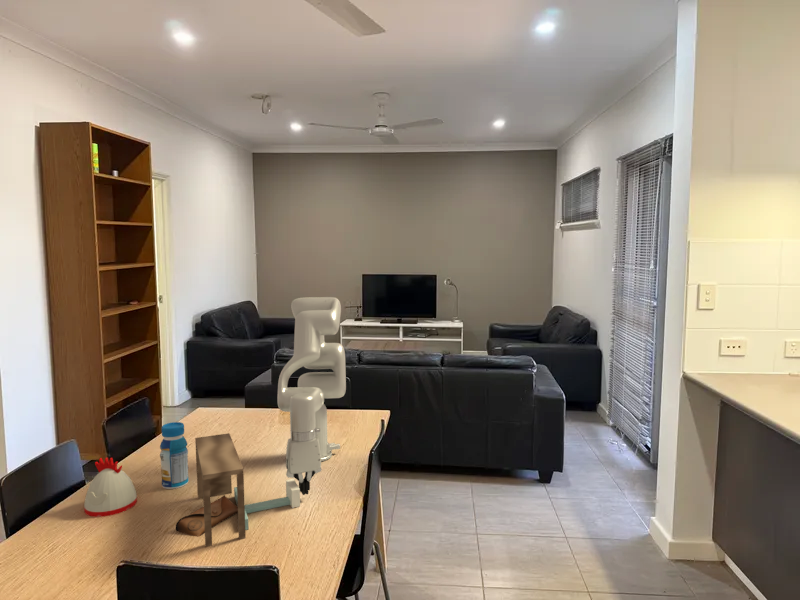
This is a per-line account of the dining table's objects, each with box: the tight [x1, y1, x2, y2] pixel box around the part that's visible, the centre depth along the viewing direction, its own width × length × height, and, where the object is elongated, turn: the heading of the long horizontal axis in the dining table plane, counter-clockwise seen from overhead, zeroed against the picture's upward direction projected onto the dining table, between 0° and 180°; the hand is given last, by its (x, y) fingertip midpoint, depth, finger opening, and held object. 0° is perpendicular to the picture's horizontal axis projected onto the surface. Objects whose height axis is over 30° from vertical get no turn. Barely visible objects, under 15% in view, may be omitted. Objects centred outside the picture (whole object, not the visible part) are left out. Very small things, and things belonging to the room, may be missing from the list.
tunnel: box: [194, 432, 247, 548], centre depth 152 cm, size 10×30×19 cm, turn 24°
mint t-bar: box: [233, 478, 301, 531], centre depth 158 cm, size 17×22×5 cm
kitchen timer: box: [83, 457, 138, 518], centre depth 159 cm, size 14×14×15 cm
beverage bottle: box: [159, 421, 190, 490], centre depth 173 cm, size 8×8×20 cm
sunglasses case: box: [175, 494, 238, 538], centre depth 151 cm, size 18×7×7 cm
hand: (304, 492), depth 162 cm, fingers closed
